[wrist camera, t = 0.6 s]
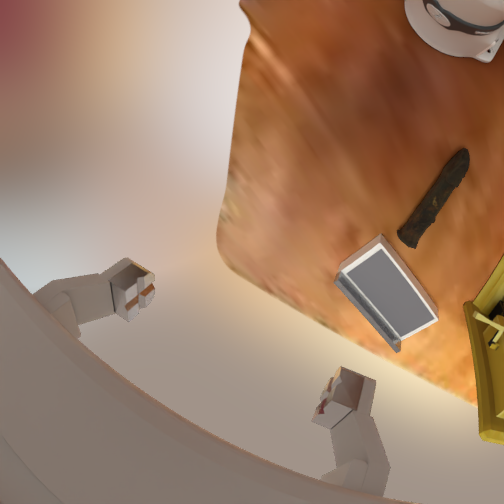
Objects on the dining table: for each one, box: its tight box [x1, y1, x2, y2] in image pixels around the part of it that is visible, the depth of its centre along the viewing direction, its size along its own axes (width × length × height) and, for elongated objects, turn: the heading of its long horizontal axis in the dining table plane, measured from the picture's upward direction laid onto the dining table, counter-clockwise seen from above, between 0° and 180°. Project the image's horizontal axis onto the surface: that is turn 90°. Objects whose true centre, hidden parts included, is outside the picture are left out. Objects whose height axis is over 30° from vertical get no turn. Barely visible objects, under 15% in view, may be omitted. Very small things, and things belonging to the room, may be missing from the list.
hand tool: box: [397, 148, 470, 249], centre depth 39 cm, size 19×4×5 cm, turn 154°
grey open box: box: [334, 234, 439, 353], centre depth 49 cm, size 10×20×7 cm, turn 50°
